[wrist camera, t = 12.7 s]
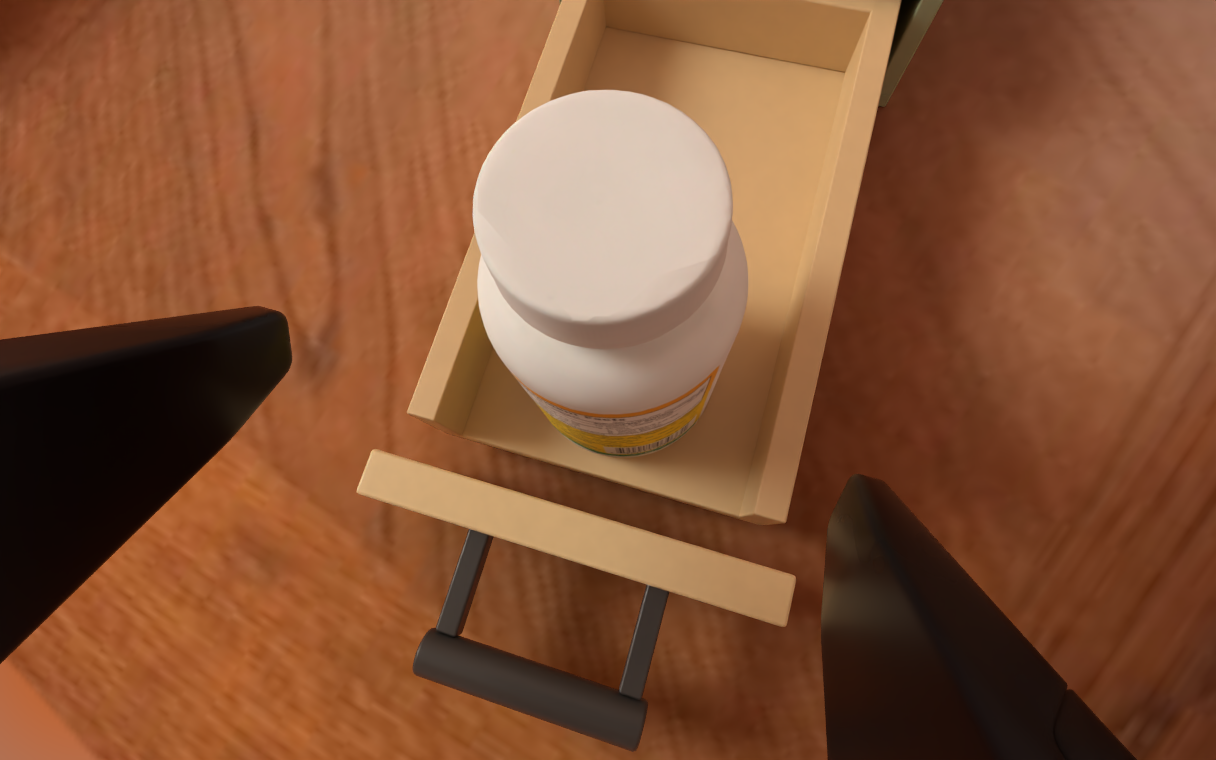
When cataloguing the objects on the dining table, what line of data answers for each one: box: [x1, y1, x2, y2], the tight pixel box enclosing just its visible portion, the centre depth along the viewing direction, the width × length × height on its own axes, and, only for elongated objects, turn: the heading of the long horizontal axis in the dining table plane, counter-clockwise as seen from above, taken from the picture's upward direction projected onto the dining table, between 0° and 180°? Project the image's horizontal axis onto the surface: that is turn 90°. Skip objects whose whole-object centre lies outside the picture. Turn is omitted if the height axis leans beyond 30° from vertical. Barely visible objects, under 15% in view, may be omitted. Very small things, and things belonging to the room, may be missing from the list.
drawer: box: [357, 0, 902, 752], centre depth 18 cm, size 22×11×4 cm, turn 164°
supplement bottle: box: [473, 90, 748, 458], centre depth 14 cm, size 5×5×10 cm
